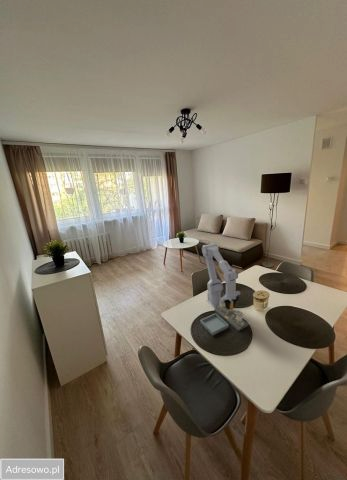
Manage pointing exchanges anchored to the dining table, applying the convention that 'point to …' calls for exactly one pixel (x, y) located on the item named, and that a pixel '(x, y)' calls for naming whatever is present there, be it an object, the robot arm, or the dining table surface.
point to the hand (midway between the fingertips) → (230, 307)
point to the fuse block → (230, 318)
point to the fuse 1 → (222, 305)
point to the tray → (214, 324)
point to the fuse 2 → (239, 317)
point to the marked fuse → (231, 305)
